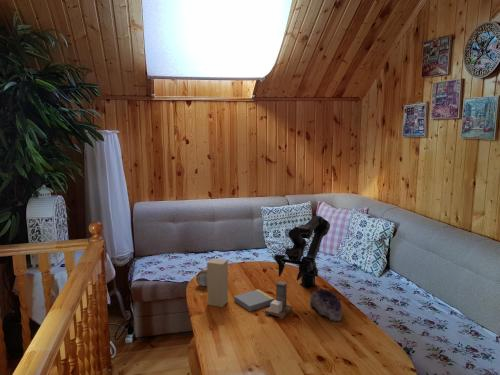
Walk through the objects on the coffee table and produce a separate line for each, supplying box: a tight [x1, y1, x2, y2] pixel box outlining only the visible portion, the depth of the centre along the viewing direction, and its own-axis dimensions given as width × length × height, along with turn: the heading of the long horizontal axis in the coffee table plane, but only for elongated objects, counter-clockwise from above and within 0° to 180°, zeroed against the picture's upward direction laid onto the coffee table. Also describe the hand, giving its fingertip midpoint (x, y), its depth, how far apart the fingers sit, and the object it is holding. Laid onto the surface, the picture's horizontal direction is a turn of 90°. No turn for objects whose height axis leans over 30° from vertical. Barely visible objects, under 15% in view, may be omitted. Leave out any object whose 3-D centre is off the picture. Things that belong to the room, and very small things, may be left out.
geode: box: [309, 287, 343, 323], centre depth 184 cm, size 20×12×10 cm, turn 20°
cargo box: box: [269, 299, 282, 313], centre depth 182 cm, size 4×4×4 cm
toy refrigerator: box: [206, 257, 229, 308], centre depth 193 cm, size 8×7×21 cm
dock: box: [233, 288, 275, 312], centre depth 194 cm, size 14×13×3 cm
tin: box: [195, 269, 207, 288], centre depth 213 cm, size 15×3×8 cm, turn 84°
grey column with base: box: [264, 281, 293, 320], centre depth 183 cm, size 10×9×13 cm
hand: (288, 278), depth 191 cm, fingers open, 9 cm apart
